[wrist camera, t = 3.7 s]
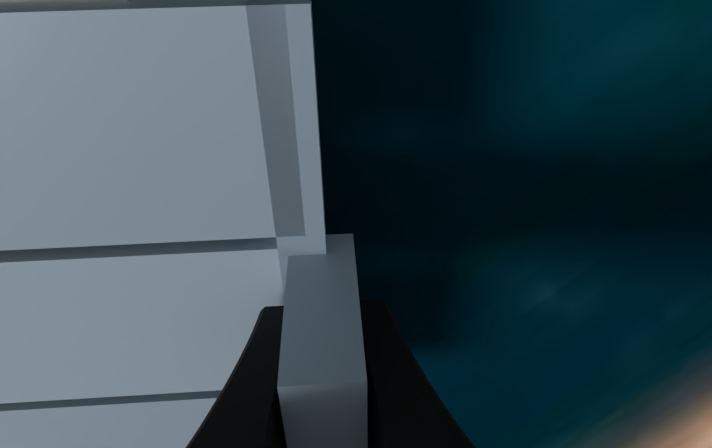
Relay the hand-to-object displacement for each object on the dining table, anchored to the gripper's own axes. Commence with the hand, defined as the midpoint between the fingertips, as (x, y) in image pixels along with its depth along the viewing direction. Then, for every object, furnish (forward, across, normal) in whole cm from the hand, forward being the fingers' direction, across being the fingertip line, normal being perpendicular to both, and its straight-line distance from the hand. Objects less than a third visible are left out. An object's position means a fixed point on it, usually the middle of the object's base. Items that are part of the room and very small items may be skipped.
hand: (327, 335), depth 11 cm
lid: (+1, +4, 0) cm, 5 cm away
